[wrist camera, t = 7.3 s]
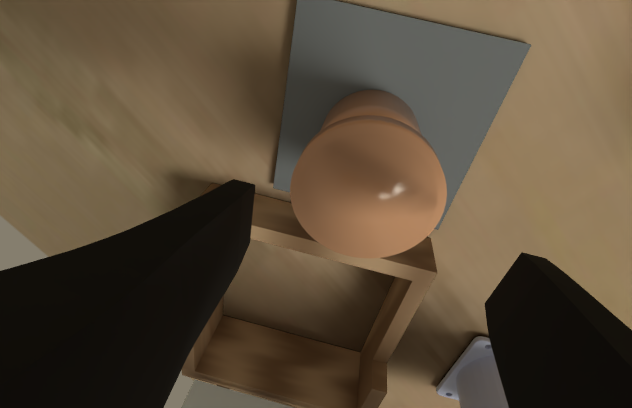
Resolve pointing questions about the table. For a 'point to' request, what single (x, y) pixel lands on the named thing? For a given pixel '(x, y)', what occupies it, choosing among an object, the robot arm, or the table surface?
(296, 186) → the pot
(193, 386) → the lid
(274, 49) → the table surface
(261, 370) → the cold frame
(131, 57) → the table surface
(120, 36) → the table surface
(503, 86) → the mat
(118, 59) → the table surface
